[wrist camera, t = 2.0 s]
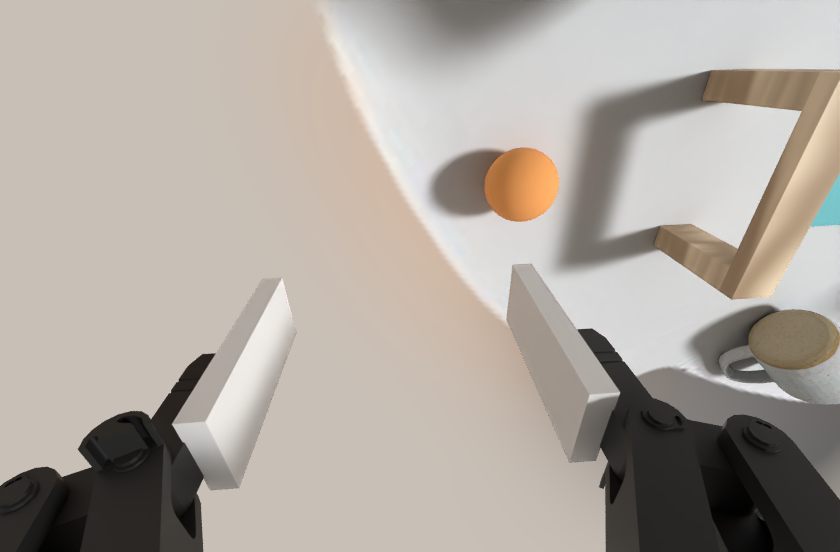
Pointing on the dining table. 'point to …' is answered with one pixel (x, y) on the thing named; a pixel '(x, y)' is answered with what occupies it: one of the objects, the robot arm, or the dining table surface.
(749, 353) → the ceramic mug
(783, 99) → the bridge
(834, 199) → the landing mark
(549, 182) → the ball
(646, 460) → the robot arm
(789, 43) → the dining table surface
